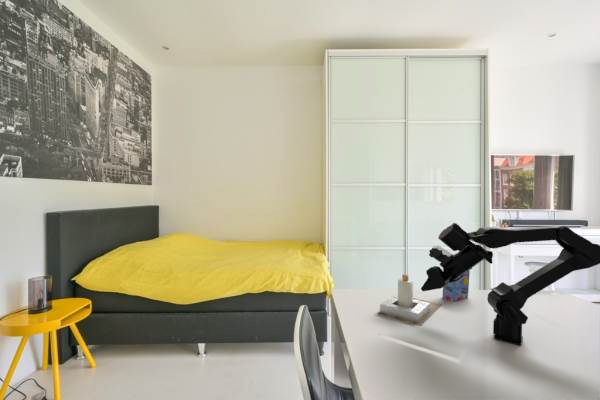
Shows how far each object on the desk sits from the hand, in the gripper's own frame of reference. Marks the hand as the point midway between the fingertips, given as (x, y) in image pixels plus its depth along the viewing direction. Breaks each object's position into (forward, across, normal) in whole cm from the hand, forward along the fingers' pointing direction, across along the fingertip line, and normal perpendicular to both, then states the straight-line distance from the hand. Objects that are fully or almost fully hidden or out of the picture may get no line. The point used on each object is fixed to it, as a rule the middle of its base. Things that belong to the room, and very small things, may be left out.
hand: (428, 287), depth 102 cm
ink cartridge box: (+10, -30, +7) cm, 32 cm away
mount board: (+14, -5, +2) cm, 15 cm away
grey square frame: (+13, 0, +2) cm, 13 cm away
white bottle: (+13, 0, +2) cm, 13 cm away
